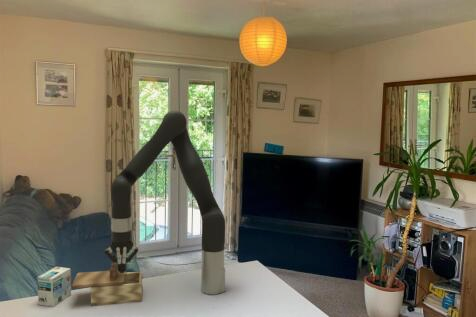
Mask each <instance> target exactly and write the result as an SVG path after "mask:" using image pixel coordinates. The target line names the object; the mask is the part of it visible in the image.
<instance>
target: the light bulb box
mask: <svg viewBox="0 0 476 317" xmlns="http://www.w3.org/2000/svg"><path fill="white" fill-rule="evenodd" d="M71 286H72V270H71V268H69V267H62V266H55V267H53V268H52V269H49V270H48V271H46V272H43V274H40V275H39V276H37V302H38V303H37V304H38V306H45V307H55V306H56V305H58V304H60V303H61V302H62V301H64V300H66V299H67V298H69V297H70V296H72V288H71Z"/></svg>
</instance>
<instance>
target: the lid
mask: <svg viewBox="0 0 476 317" xmlns="http://www.w3.org/2000/svg"><path fill="white" fill-rule="evenodd" d="M125 273H127V271H124V273H120V272H119V271H118V263H114V262H111V265H110V268H109V270H99V271H85V272H83V271H82V272H77V274H76V276H75V278H74V280H73V282H72V283H71V289H81V288H91V287H97V286H110V285H123V284H124V278H125Z"/></svg>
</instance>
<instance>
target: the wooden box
mask: <svg viewBox="0 0 476 317" xmlns="http://www.w3.org/2000/svg"><path fill="white" fill-rule="evenodd" d="M142 297H143V271H132V272H125V278H124V284H123V285H110V286H97V287H90V306H91V307H94V306H95V307H96V306H107V305H119V304H121V305H122V304H129V303H130V304H131V303H141V302H143V301H142V300H143V298H142Z"/></svg>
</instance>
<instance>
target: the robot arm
mask: <svg viewBox="0 0 476 317" xmlns="http://www.w3.org/2000/svg"><path fill="white" fill-rule="evenodd" d="M187 124H188V123H187V118H186V116H185V114H184V113H182V111H178V110H171V111H168V112H167V113H166V114H164V116H163V118H162V121H161V122H160V125H159V126H158V128H157V129H156V131H155V132H154V133H153V135H152V136H151V137H150V139H148V141H147V142H146V143H145V144H144V145H143V146H142V147H141V148H140V149H139V150H138V151H137V153H136V154H135V155H134V156H133V157H132V158H131V159H130V161H129V162H128V163H127V165H126V166H125V168H123V170H122V171H121V172H120V173H119V174H117V176H116V177H115V178H114V179H113V180H112V183H111V185H110V186H111V187H110V189H111V190H110V191H111V201H112V202H111V204H112V205H111V224H110V226H111V227H110V229H111V236H110V237H111V239H110V240H111V242H110V245H109V247H108V248H105V250H104V253H105V255H106V256H107V257H108V259H110V261H111V262H112V263H117V270H118V271H119V272H120V273H124V271H126V270H127V263H130V262H131V260H133V258H134V257H135V256H136V254H137V253H138V252H139V247H138V246H136V245H134V242H133V222H132V221H133V220H132V205H131V198H132V197H131V194H132V192H131V190H132V187H133V186H134V184H135V183H137V181H138V180H139V179H140V178H141V177H142V176H143V175H145V174H146V172H147V171H148V170H149V168H150V167H151V166H152V164H154V162H155V161H156V159H157V158H158V157H159V155H160V154H161V153H162V151H163V150H164V149H165V148H166V147H167V145H169V143H171V145H172V146H173V147H172V148H173V150H174V152H175V155H176V159H177V163H178V166H179V169H180V172H181V175H182V176H183V180H184V182H185V185H186V186H187V188H188V190H189V192H190V193H191V195H192V196H193V198H194V199H195V202H196V204H197V207H198V210H199V213H200V217H201V262H200V263H201V264H200V265H201V272H200V273H201V275H200V276H201V278H200V280H201V281H200V289H201V292H202V293H203V294H206V295H218V294H221V293H225V291H226V268H225V245H226V244H225V243H226V218H225V215H224V214H223V211H222V210H221V208H220V206H219V204H218V203H217V200H216V199H215V196H214V193H213V190H212V186H211V182H210V178H209V176H208V173H207V170H206V168H205V165H204V162H203V160H202V159H201V157H200V155H199V153H198V151H197V150H196V148H195V147H194V144H193V143H192V140H191V137H190V135H189V132H188V128H187ZM130 251H131V253H130ZM113 253H114V254H113ZM129 253H130V254H129ZM127 254H129V256H127ZM115 255H116V256H115ZM126 272H127V271H126Z"/></svg>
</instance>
